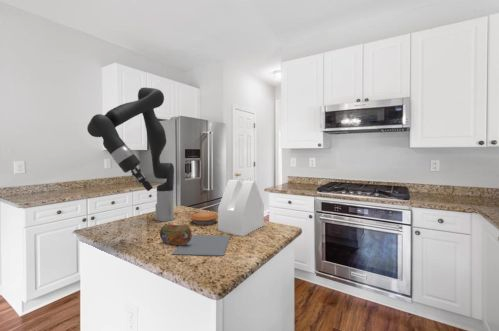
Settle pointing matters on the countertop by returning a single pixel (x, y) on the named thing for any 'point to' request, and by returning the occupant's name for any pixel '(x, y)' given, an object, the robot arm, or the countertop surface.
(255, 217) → the milk carton
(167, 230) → the tin
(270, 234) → the countertop surface
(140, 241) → the countertop surface
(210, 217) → the pie
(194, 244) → the mat
